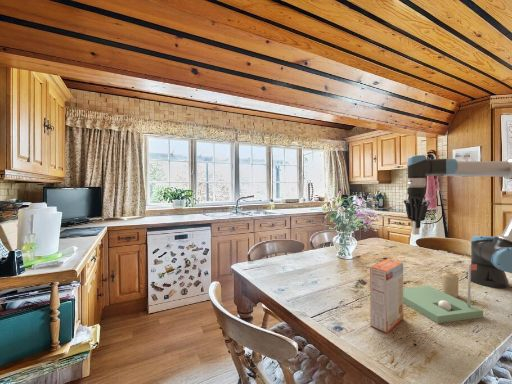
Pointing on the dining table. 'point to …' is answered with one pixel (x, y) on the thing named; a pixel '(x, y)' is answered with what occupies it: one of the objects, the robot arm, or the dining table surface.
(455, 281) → the candle
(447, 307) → the ball
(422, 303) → the green
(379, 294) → the cracker box
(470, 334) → the dining table surface
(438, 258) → the dining table surface
